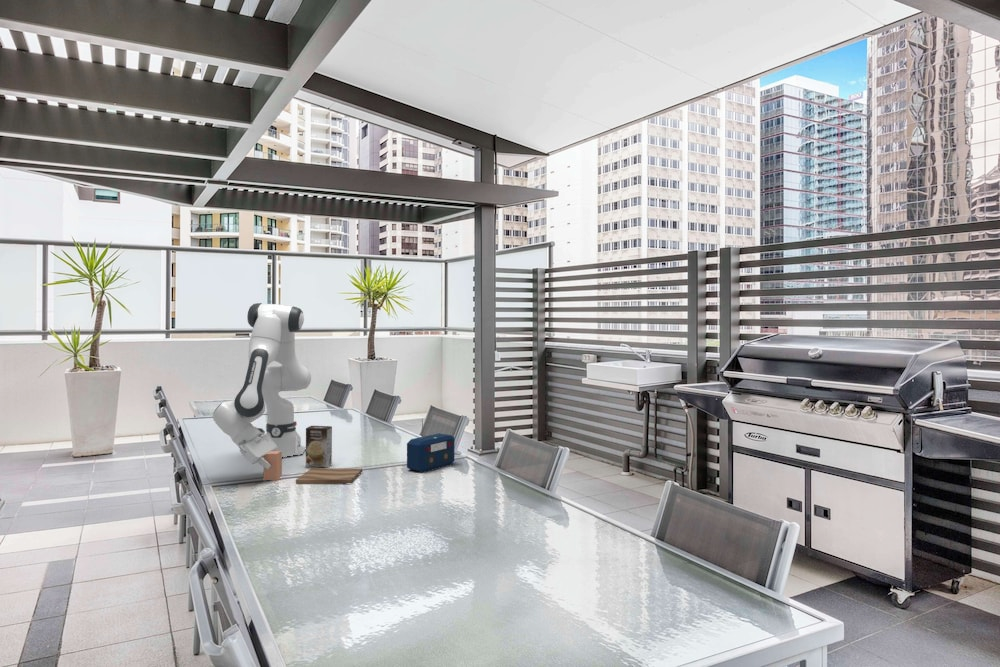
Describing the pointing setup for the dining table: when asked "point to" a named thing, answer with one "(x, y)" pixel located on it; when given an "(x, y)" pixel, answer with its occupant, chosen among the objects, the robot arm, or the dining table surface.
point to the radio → (430, 452)
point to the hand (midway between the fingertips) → (274, 464)
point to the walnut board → (329, 476)
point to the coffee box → (318, 446)
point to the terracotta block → (273, 465)
